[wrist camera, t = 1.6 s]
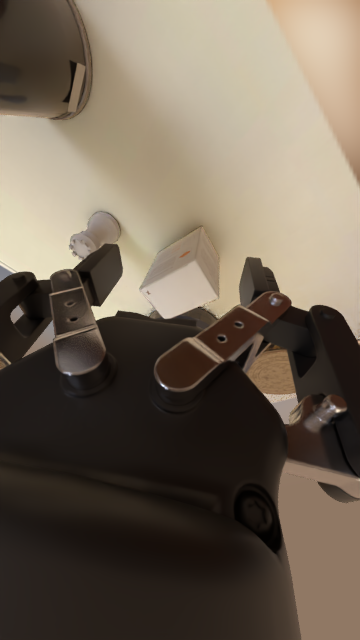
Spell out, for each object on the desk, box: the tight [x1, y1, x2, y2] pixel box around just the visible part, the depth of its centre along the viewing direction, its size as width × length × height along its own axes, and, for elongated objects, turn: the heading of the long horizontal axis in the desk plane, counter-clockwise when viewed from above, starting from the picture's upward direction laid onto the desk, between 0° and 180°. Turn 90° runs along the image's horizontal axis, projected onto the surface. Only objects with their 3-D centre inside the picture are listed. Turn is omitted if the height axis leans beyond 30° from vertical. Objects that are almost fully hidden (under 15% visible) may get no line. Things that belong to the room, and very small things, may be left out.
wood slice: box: [246, 343, 296, 394], centre depth 44 cm, size 16×16×3 cm
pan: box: [150, 308, 217, 329], centre depth 42 cm, size 16×16×4 cm
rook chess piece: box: [69, 212, 120, 260], centre depth 27 cm, size 4×4×8 cm
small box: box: [139, 226, 219, 319], centre depth 27 cm, size 8×6×10 cm
